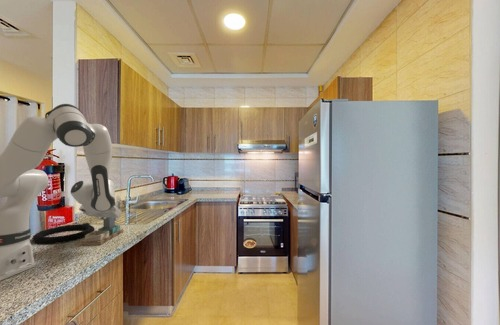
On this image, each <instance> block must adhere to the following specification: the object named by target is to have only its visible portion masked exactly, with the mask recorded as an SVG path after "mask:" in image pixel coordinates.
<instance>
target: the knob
mask: <svg viewBox="0 0 500 325" xmlns="http://www.w3.org/2000/svg"><path fill="white" fill-rule="evenodd" d="M102 221H103V222H102V223H103V226H102V227H104V229H111V228H114V227H115V225H116V221H115V220H114V218H111V217H105V218H104V219H103V220H102Z"/></svg>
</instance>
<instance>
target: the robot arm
mask: <svg viewBox="0 0 500 325" xmlns="http://www.w3.org/2000/svg"><path fill="white" fill-rule="evenodd" d="M57 139H58V140H59V141H60V143H62V144H63V145H65V146H67V147H72V148H73V147H74V148H77V147H83V153H84V156H85V159H86V160H85V161H86V163H87V166H88V169H89V173H90V176H91V181H90V180H89V181H88V180H79V181H77V182H76V183H74V184H73V185H72V186H71V189H70V195H71V197H72V198H73V199H74V200H75V201H76V202H77V203H79V204H80V207H79V208H78V210H79V212H82V213H84V214H85V215H86V216H88V217H94V218H98V219H99V220H101V221H103V219H105V218H106V217H111V218H114V220H115V222H116V221H119V220H120V219H119V218H120V217H121V215H122V210H120V209H119V207H117V206H116V199H115V197H116V196H115V194H116V190H115V189H116V187H115V184H116V183H115V182H114V181H113V180H112V179H111V178H109V173H110V168H111V164H112V158H113V144H112V139H111V136H110V133H109V130H108V128H107V127H106V126H104V125H103V124H100V123H88V121H87V119H86V117H85V116H84V114H83V112H82V111H81V110H80V109H79V108H78V107H77V106H75V105H72V104H71V103H62V104H59V105H57V106H55V107H54V108H52V109H51V110H49V111H47V112H46V113H45V115H44V117H41V116H35V115H34V116H33V115H32V116H29V117H26V118H25V119H24V120H23V121H22V122H21V123H20V125H19V126H18V127H17V128H16V130H15V131H14V133H13V135H12V137H11V138H10V140H9V142H8V143H7V145H6V147H5V149H4V150H3V152H2V153H1V154H0V199H1V198H6V199H5V202H3V204H2V205H1V206H0V282H1V281H3V280H6V279H8V278H10V277H12V276H15V275H18V274H20V273H22V272H25V271H27V270H30V269H32V268H34V267H36V266H37V263H36V260H35V258H34V252H33V246H32V244H31V239H30V238H32V231H31V227H30V214H31V208H32V205H33V203H34V201H35V200H36V198H37V197H38V196H39V194H41V193H42V192H43V191H45V190H46V189H47V187H48V186H49V181H50V179H49V177H48V176H49V175H48V174H47V173H46V172H45V171H44V170H42V169H36V168H37V167H39V165H41V163H42V162H43V160H44V158H45V157H46V154H48V153H47V152H48V151H49V150H50V148H51V145H52V143H53V142H54V141H56V140H57Z"/></svg>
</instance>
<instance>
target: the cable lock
mask: <svg viewBox="0 0 500 325" xmlns="http://www.w3.org/2000/svg"><path fill="white" fill-rule="evenodd" d="M71 231H78V232H75V233H72V234H71V233H70V234H66V235H58V236H57V235H56V236H49V234H50V235H54V233H55V234H57V233H63V232H71ZM93 231H95V227H94V226H93V225H91V224H90V222H83V223H80V224H79V223H78V224H67V225H66V224H65V225H59V226H55V227H50V228H47V229H44V230H41V231H40V230H39V232H37V233H35V234H34V235H32V237H31V239H32V242H34V243H36V244H39V243H40V244H41V245H45V244H46V245H52V244H61V243H67V242H72V241H76V240H79V239H83V237H84V238H85V235H87V234H89V233H91V232H93ZM44 236H45V237H44Z"/></svg>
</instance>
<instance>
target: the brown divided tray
mask: <svg viewBox="0 0 500 325" xmlns="http://www.w3.org/2000/svg"><path fill="white" fill-rule="evenodd" d="M120 233H121V234H122V233H124V229H121V225H120V224H115V227H114V228H111V229H104V226H101V227H100V228H98V229H97V230H94V231H93V232H91V233H89V234H87V235H85V237H84V240H82V241H81V242H80V246H102V245H104V244H105V243H107V242H109V241H110V240H112V239H113V237H114V238H115V237H117V236H119V235H121V234H120ZM108 240H109V241H108Z"/></svg>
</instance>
